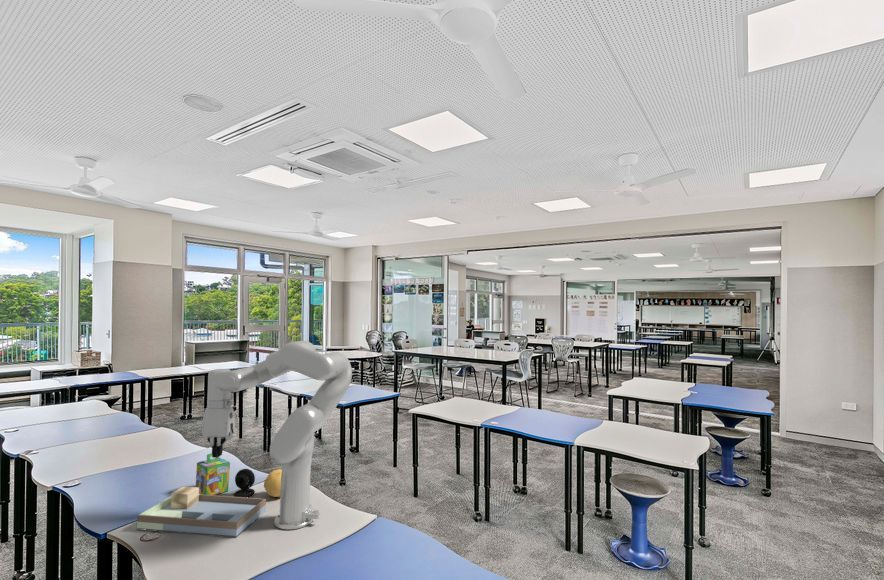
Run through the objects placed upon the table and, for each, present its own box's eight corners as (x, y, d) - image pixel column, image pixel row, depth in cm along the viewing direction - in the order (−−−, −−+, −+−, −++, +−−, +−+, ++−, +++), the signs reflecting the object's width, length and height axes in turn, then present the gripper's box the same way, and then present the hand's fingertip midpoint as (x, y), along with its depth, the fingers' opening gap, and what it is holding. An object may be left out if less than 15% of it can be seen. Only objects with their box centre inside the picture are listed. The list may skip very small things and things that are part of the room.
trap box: (265, 511, 153) (265, 498, 154) (236, 537, 135) (237, 522, 136) (176, 505, 157) (177, 492, 157) (136, 529, 139) (137, 515, 139)
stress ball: (275, 492, 172) (256, 480, 167) (293, 472, 175) (275, 459, 170) (280, 506, 163) (260, 494, 159) (299, 484, 166) (280, 472, 162)
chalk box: (205, 499, 163) (207, 459, 164) (194, 492, 168) (196, 453, 169) (229, 491, 170) (231, 453, 171) (218, 485, 176) (220, 448, 176)
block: (198, 501, 154) (199, 487, 155) (186, 509, 148) (187, 494, 149) (182, 500, 155) (183, 486, 155) (170, 508, 149) (171, 493, 149)
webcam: (228, 498, 164) (230, 471, 164) (240, 490, 171) (241, 465, 172) (248, 500, 163) (249, 473, 163) (258, 492, 170) (260, 466, 171)
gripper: (244, 402, 157) (242, 453, 156) (205, 401, 158) (203, 452, 157) (233, 406, 149) (231, 460, 148) (192, 405, 151) (190, 459, 150)
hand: (217, 456), depth 153 cm, fingers closed
